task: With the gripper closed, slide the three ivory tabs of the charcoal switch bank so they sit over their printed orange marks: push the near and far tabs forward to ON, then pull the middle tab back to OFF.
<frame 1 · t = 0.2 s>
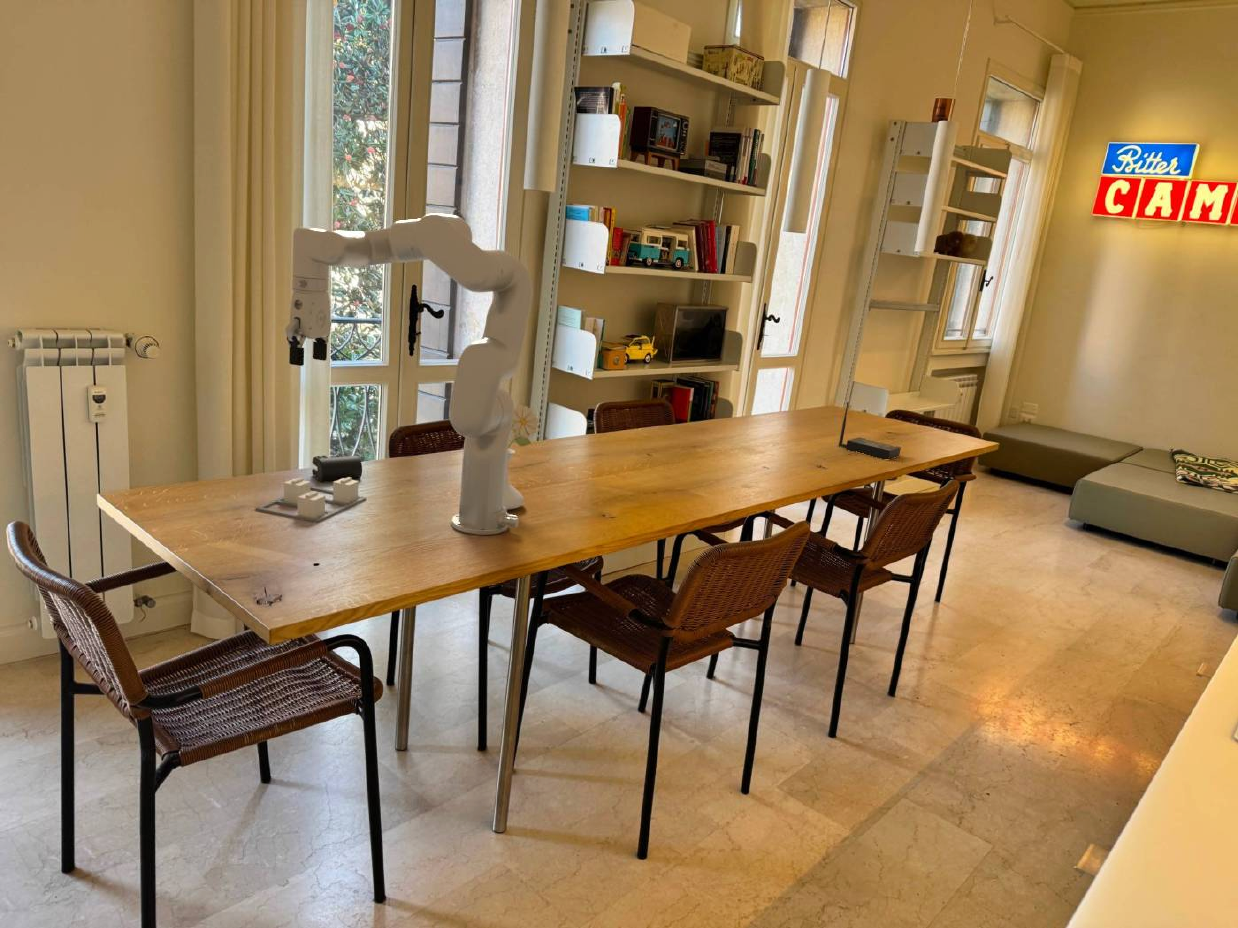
hand: (308, 362, 196), 30 cm above the table, fingers open, 9 cm apart
switch bank: (304, 508, 192), on the table
tab 3: (311, 504, 184), point 4 cm above the table, slide at 0.0 cm
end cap: (336, 484, 212), on the table
tab 2: (297, 490, 192), point 4 cm above the table, slide at 8.0 cm
tab 1: (345, 489, 196), point 4 cm above the table, slide at 0.0 cm
flower in vase: (503, 506, 209), on the table
wireless controller: (866, 453, 316), on the table
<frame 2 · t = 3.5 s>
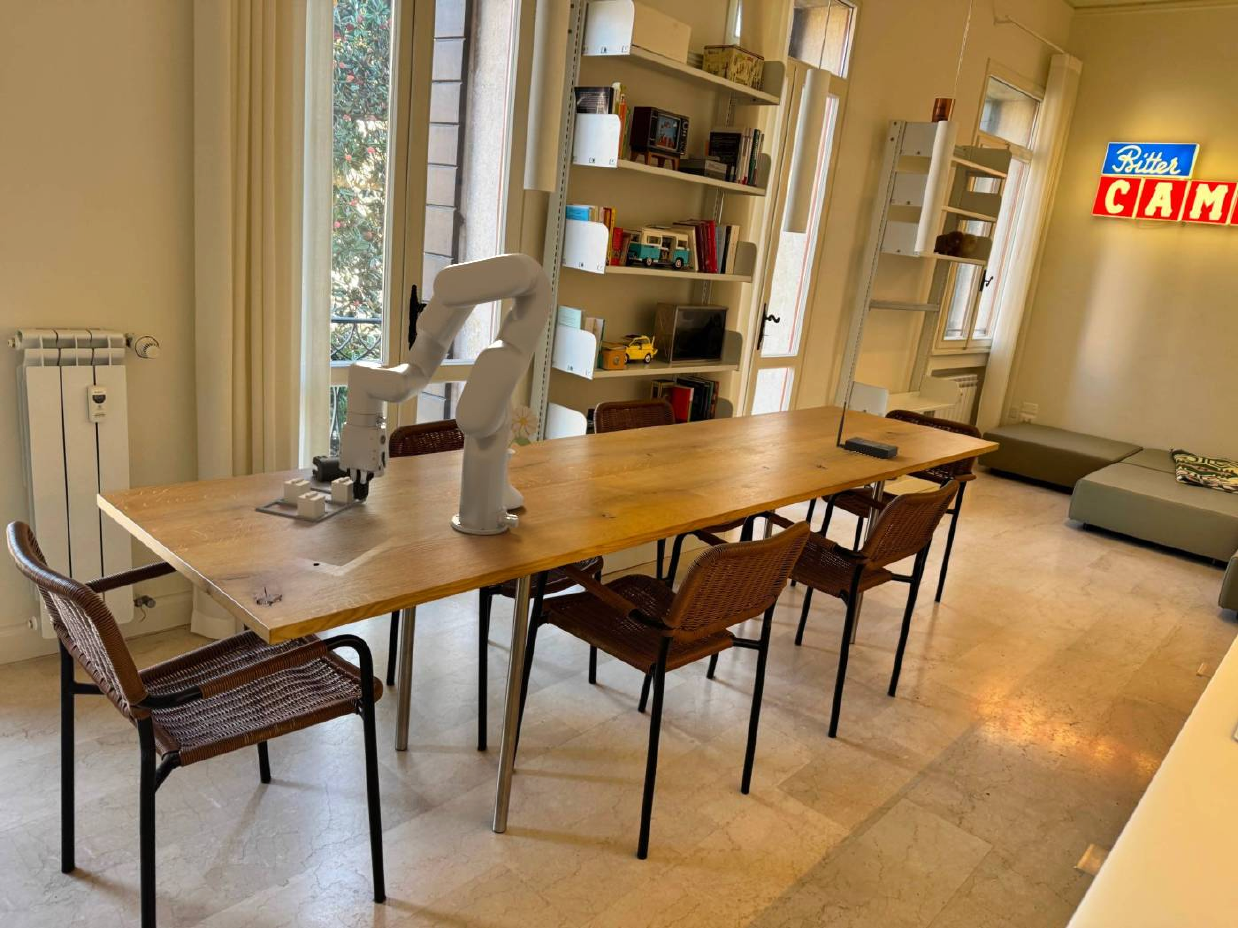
hand: (360, 498, 195), 3 cm above the table, fingers closed
tab 1: (344, 489, 196), point 4 cm above the table, slide at 0.5 cm, touching gripper
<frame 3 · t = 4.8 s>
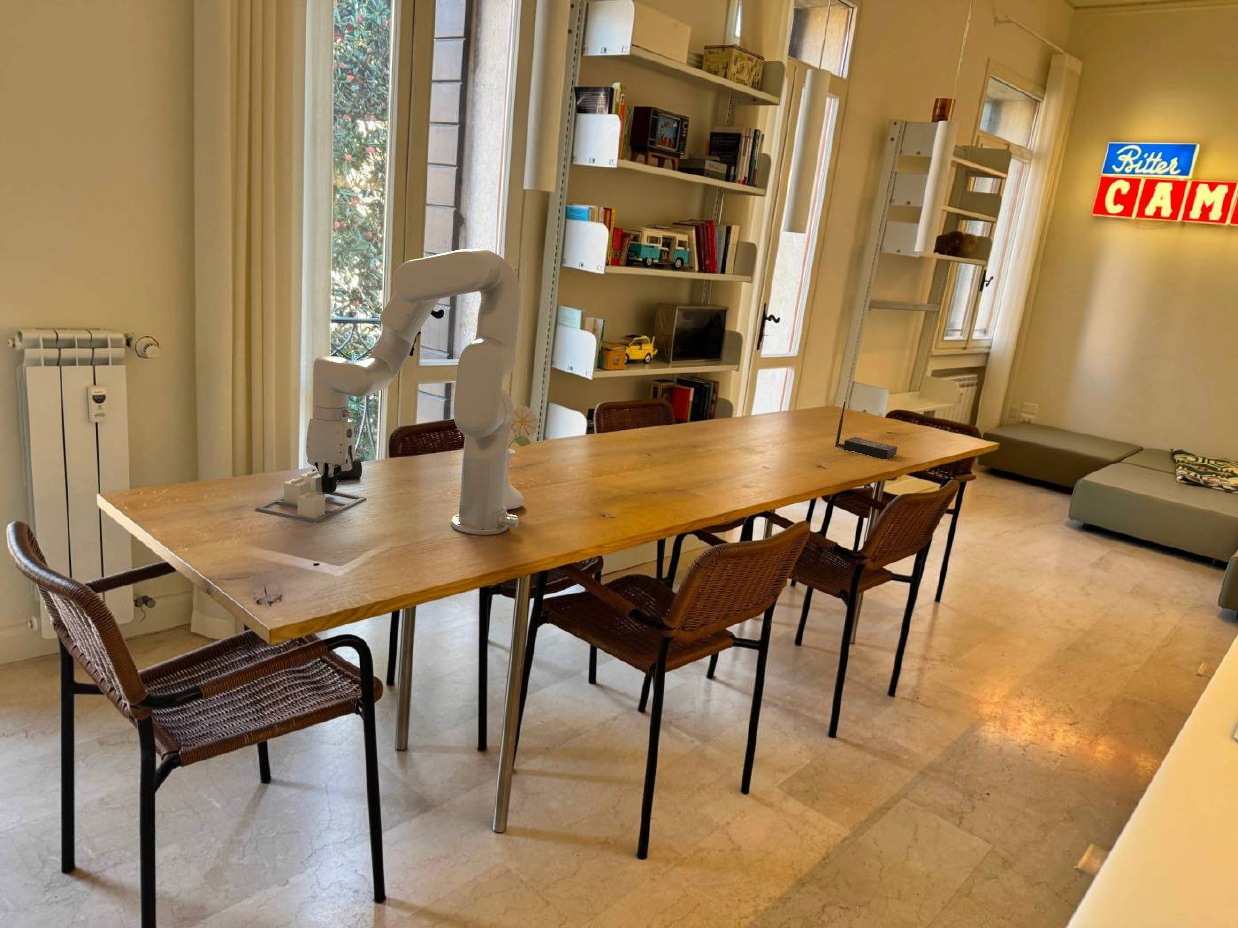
hand: (328, 491, 197), 2 cm above the table, fingers closed
tab 1: (312, 482, 198), point 4 cm above the table, slide at 8.5 cm, touching gripper, switch bank
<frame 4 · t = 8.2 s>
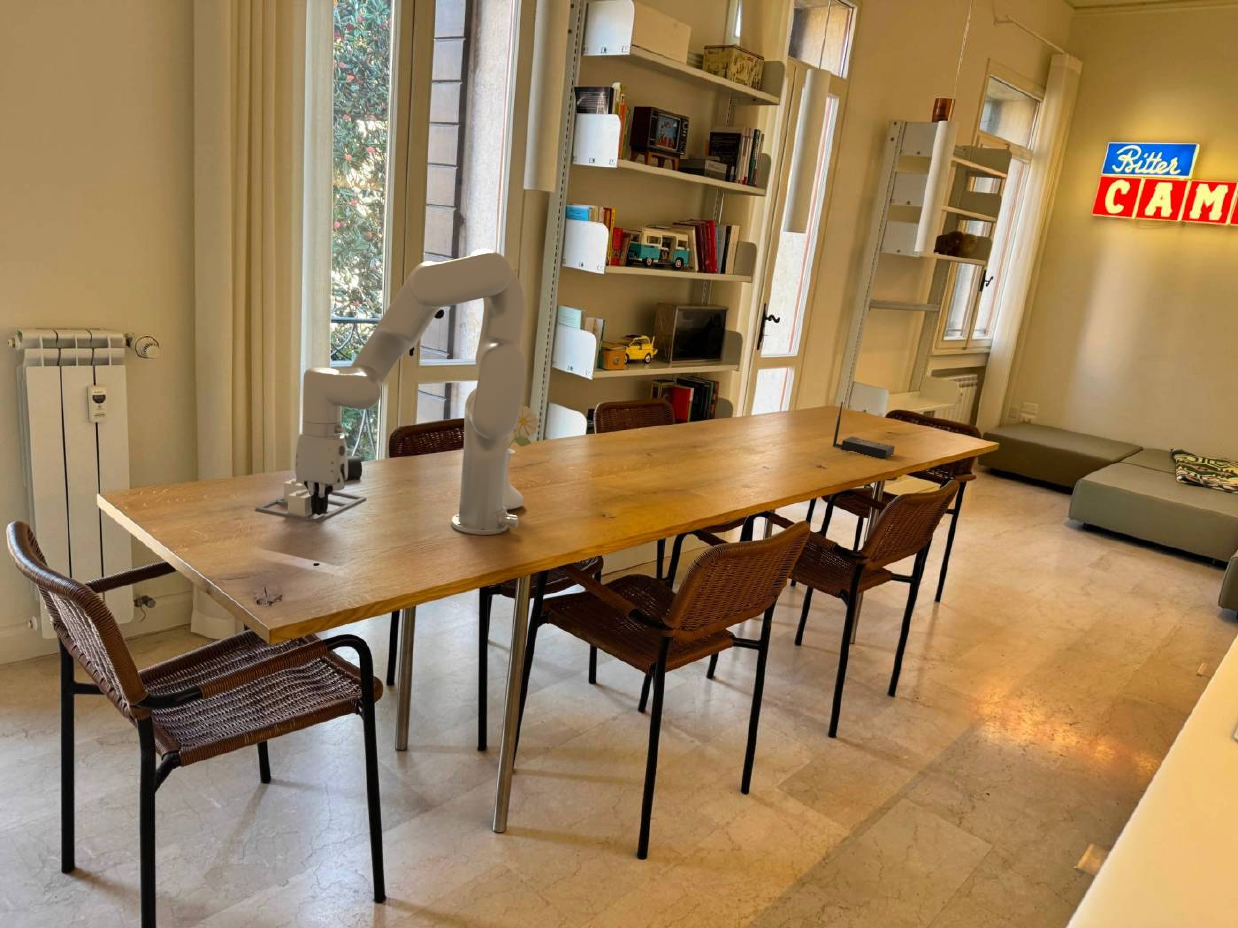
hand: (319, 512, 184), 2 cm above the table, fingers closed
tab 3: (301, 502, 184), point 4 cm above the table, slide at 2.3 cm, touching gripper
tab 1: (314, 483, 198), point 4 cm above the table, slide at 8.1 cm
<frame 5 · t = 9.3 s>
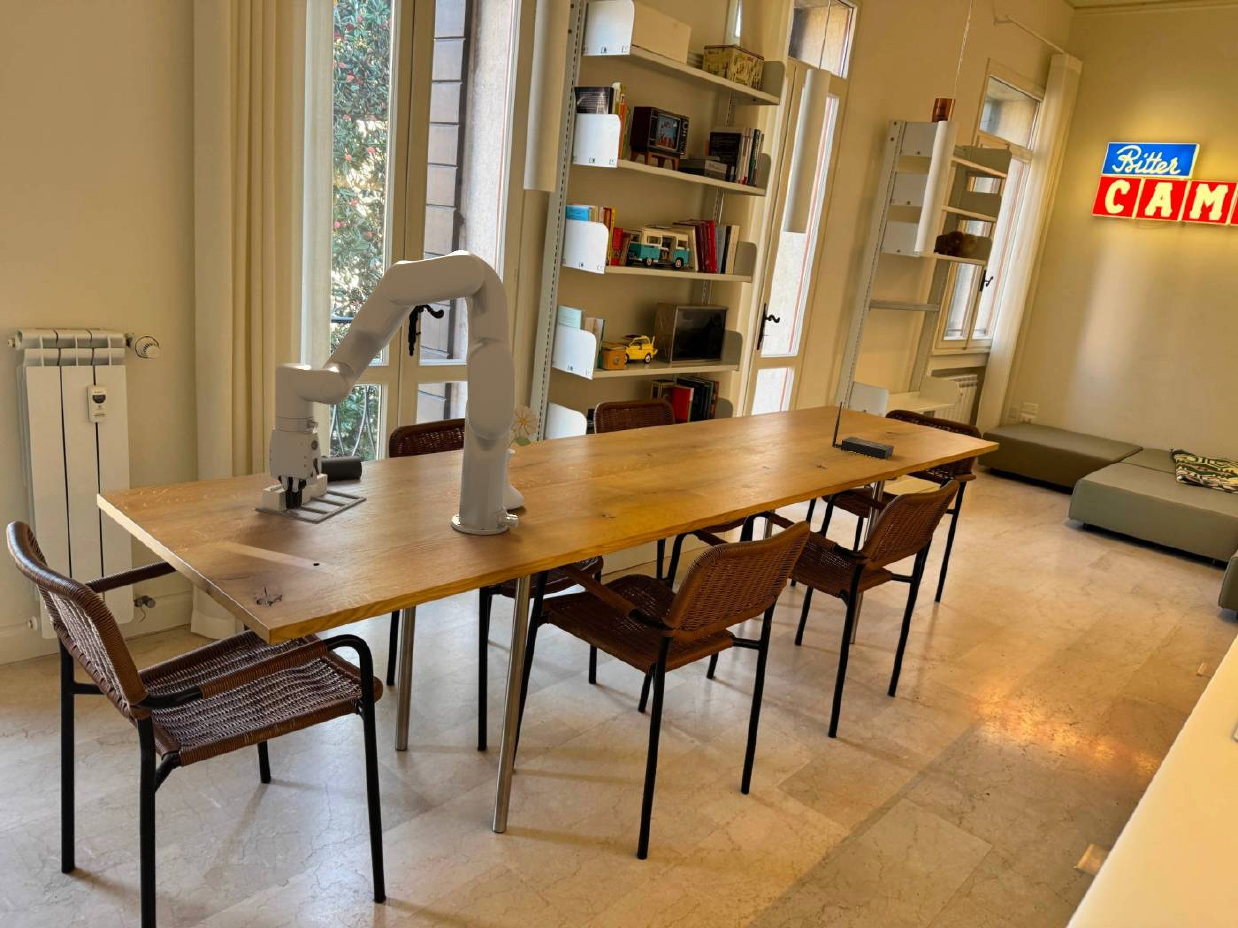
hand: (293, 507, 185), 2 cm above the table, fingers closed
tab 3: (276, 497, 186), point 4 cm above the table, slide at 8.5 cm, touching gripper, switch bank
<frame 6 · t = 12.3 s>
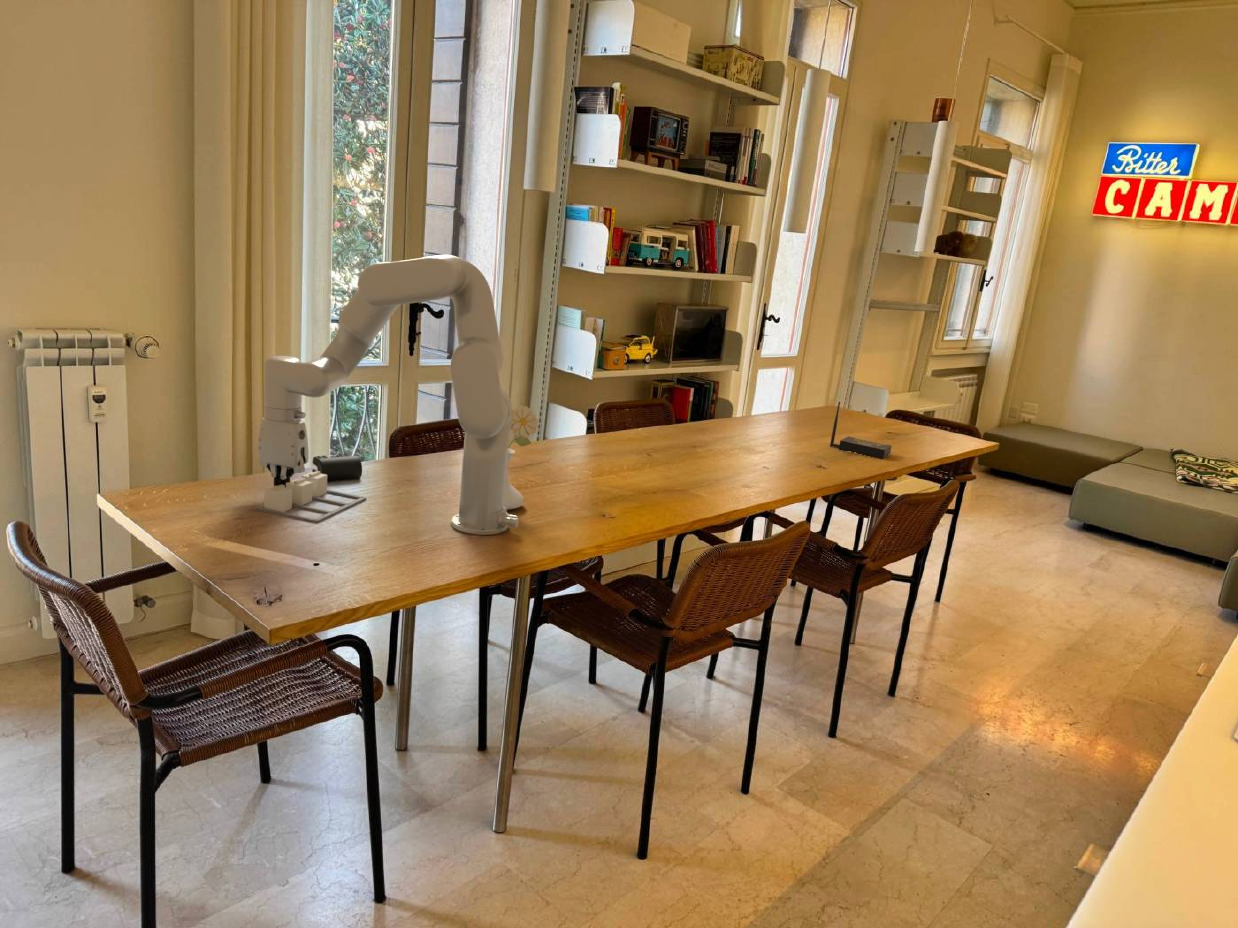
hand: (281, 494, 193), 2 cm above the table, fingers closed
tab 3: (278, 497, 186), point 4 cm above the table, slide at 8.1 cm
tab 2: (299, 490, 192), point 4 cm above the table, slide at 7.4 cm, touching gripper
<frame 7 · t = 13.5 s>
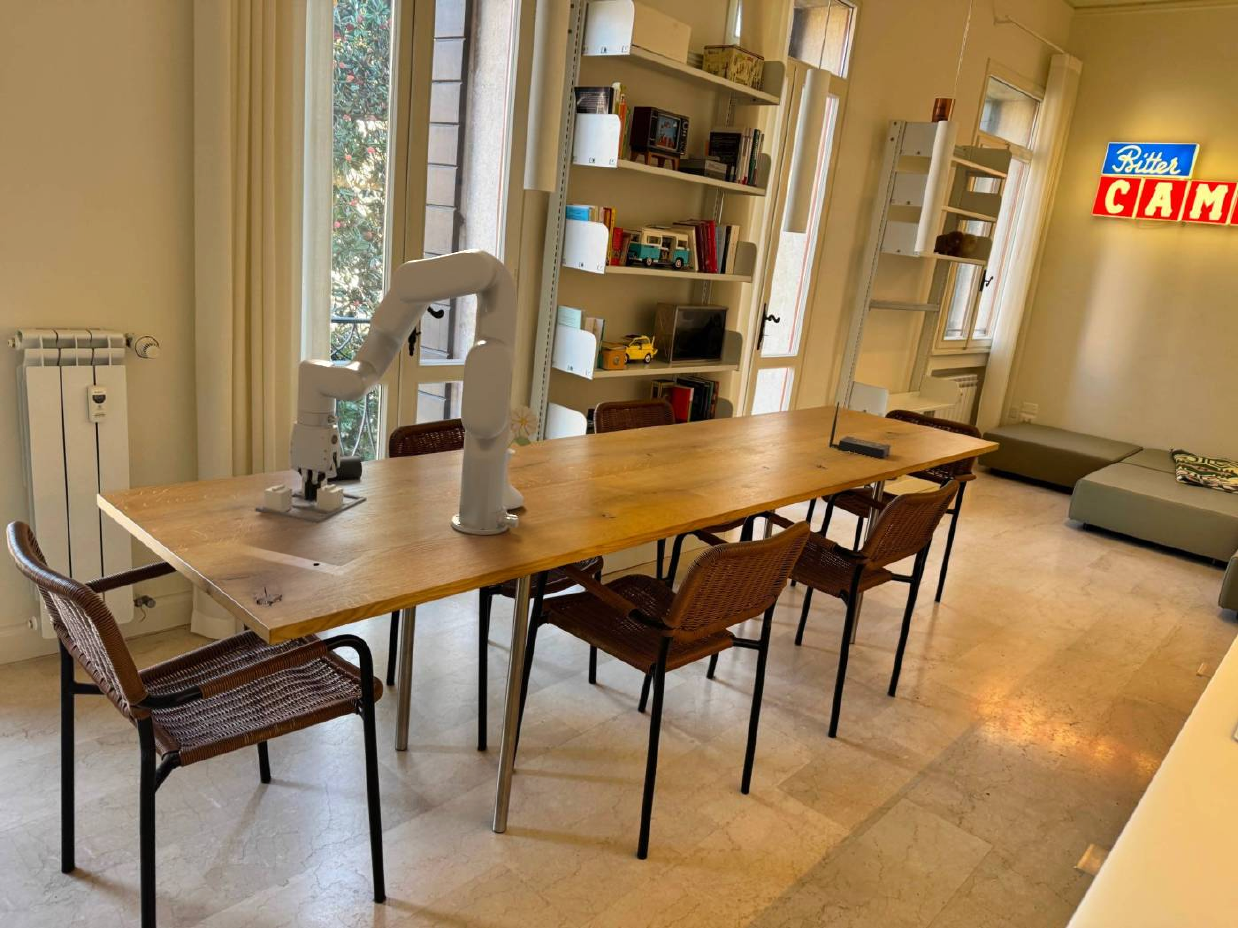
hand: (312, 498, 191), 3 cm above the table, fingers closed
tab 2: (330, 497, 190), point 4 cm above the table, slide at -0.2 cm, touching gripper
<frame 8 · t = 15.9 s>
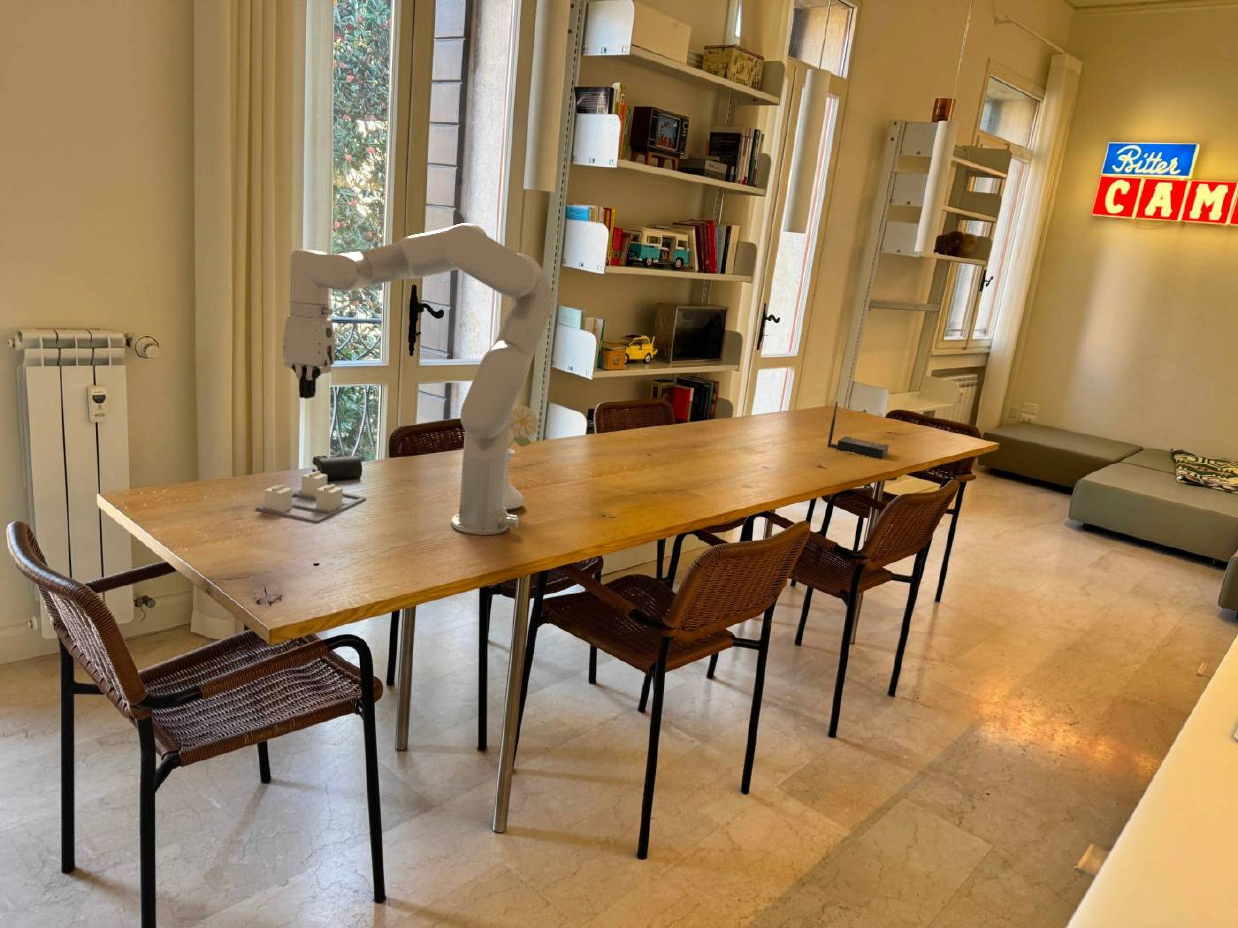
hand: (307, 397, 186), 25 cm above the table, fingers closed
tab 2: (329, 497, 190), point 4 cm above the table, slide at -0.1 cm
at the end: tab 1 slide at 8.1 cm; tab 3 slide at 8.1 cm; tab 2 slide at -0.1 cm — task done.
